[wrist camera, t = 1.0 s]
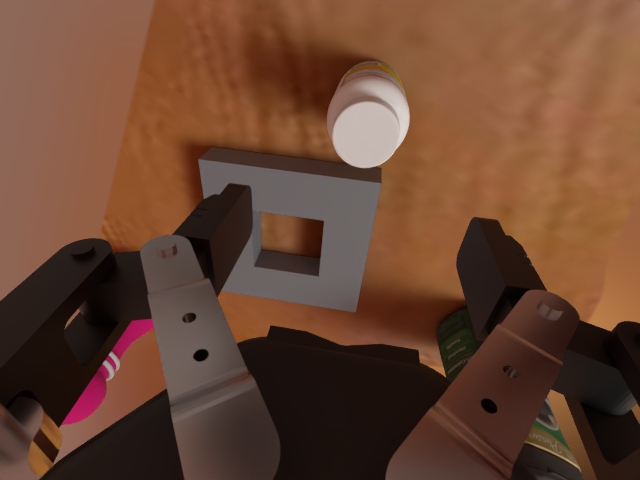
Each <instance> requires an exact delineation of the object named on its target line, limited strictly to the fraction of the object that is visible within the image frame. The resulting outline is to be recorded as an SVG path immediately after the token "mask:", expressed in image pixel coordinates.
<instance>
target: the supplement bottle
mask: <svg viewBox="0 0 640 480" xmlns="http://www.w3.org/2000/svg"><path fill="white" fill-rule="evenodd" d="M409 120H410V116H409V108H408V103H407V100H406V95H405V91H404V87H403V84H402V81H401V79H400V77H399V76H398V74H397V73H396V72H395V70H394V69H393V68H391V67H390V66H389V65H387V64H385V63H382V62H378V61H365V62H361V63H359V64H357V65H355V66H353V67H352V68H351V69H349V70H348V71H347V72H346V73H345V75H344V76H343V77H342V79H341V81H340V83H339V85H338V87H337V89H336V92H335V94H334V96H333V98H332V100H331V102H330V105H329V108H328V113H327V129H328V133H329V136H330V139H331V141H332V142H333V146H334V148H335V150H336V152H337V154H338V155H339V156H340V157H341V158H342V159H343V160H344V161H345V162H346V163H348V164H350V165H352V166H355V167H359V168H371V167H375V166H378V165H380V164H382V163H384V162H385V161H386V160H388V159H389V158H390V157H391V156H392V155H393V153H394V152H395V150H396V149H397V148H398V147H399V145H400V144H401V143H402V141H403V140H404V138H405V136H406V133H407V131H408V127H409Z"/></svg>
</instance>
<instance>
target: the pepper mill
mask: <svg viewBox="0 0 640 480" xmlns="http://www.w3.org/2000/svg"><path fill="white" fill-rule="evenodd" d="M153 328H154V325H153V320H152V319H145V320H135V321H132V322H131V323H130V324H129V326H128V327H127V329H126V330H125V332H124V333H123V335H122V336H121V338H120V339H119V341H118V342H117V344H116V345H115V346H114V348H113V349H112V351H111V352H110V354H109V355H108V357H107V358H106V360H105V361H104V363H103V364H102V366H101V367H100V368H99V370H98V371H97V373H96V374H95V376H94V377H93V379H92V380H91V382H90V383H89V385H88V386H87V387H86V389H85V390H84V392H83V393H82V395H81V396H80V398H79V399H78V401H77V402H76V404H75V405H74V407H73V408H72V409H71V411H70V412H69V414H68V415H67V417H66V418H65V420H64V421H63V423H62V424H61V425H64V424H72V423H76V422H79V421H81V420H83V419H85V418H87V417H88V416H89V415H91V414H92V413H93V412H94V411H95V410H96V409H97V408H98V407H99V405H100V404H101V403H102V401H103V399H104V398H105V395H106V389H107V388H106V381H108V380H110V379H111V378H112V377H113V376H114V373H115V371H117V370H118V369H119V367H120V362H119V360H120V358H121V356H122V355H123V353H124V352H125V351H126V349H127V348H128V347H129V346H130V345H131V344H132V343H133V342H134V341H135V340H136V339H138V338H139V337H141V336H142V335H144V334H145V333H147V332H149V331H150V330H152V329H153Z"/></svg>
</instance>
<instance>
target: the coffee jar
mask: <svg viewBox="0 0 640 480" xmlns="http://www.w3.org/2000/svg"><path fill="white" fill-rule="evenodd" d="M436 335H437V340H438V345H439V350H440V355H441V359H442V363H443V366H444V370H445V374H446V378H447V379H448V380H449V381H451V382H453V381H454V380H455V379H456V377H457V376H458V375H459V373H460V372H461V371H462V370H463V368H464V367H465V366H466V364H467V363H468V362H469V361H470V359H471V358H472V357H473V355H474V354H475V353H476V352H477V350H478V349H479V348H480V346H481V345H482V344H483V343H484V341H479V340H476V336H475V333H474V329H473V325H472V322H471V318H470V315H469V311H468V307H467V308H464V309H461V310H459V311H456V312H455V313H453V314H451V315H450V316H448V317H447V318H446V319H445V320H444V321H443V322H442V323H441V324H440V325H439V327H438V329H437V332H436ZM518 458H519V459H520V460H521V461H522V462H523V463H524V464H525V466H526V467H527V468H528V469H529V470H530V471H531V473H532V474H533V475H534V476H535V477H536V478H537V479H538V480H584V478H583V474H582V473H581V469H580V467H579V465H578V463H577V461H576V460H575V458H574V456H573V454H572V452H571V451H570V449H569V447H568V445H567V443H566V441H565V439H564V437H563V435H562V433H561V431H560V428H559V426H558V424H557V421H556V419H555V417H554V414H553V411H552V409H551V406H550V403H549V401H548V398H546V400H545V402H544V404H543V406H542V408H541V410H540V412H539V414H538V416H537V418H536V420H535V422H534V424H533V426H532V428H531V430H530V432H529V435H528V437H527V439H526V441H525V443H524V445H523V447H522V449H521V451H520V453H519V455H518Z"/></svg>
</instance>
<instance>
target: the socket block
mask: <svg viewBox="0 0 640 480" xmlns="http://www.w3.org/2000/svg"><path fill="white" fill-rule="evenodd" d="M198 162H199V168H200V175H201V182H202V189H203V196H204V199H205V198H207V197H209V196H211V195H213V194H218V195H220V193H221V192H222V191H223V190H224V188H225V187H226V186H227V185H228V184H229V183H234V184H242V185H249V186H250V187H251V191H252V210H253V229H252V233H251V236H250V238H249V240H248V242H247V244H246V246H245V248H244V250H243V251H242V253H241V255H240V257H239V259H238V261H237V262H236V264H235V266H234V268H233V270H232V272H231V273H230V275H229V277H228V279H227V281H226V283H225V285H224V286H223V288H222V290H221V291H224V292H230V293H237V294H243V295H249V296H255V297H261V298H268V299H274V300H280V301H286V302H293V303H299V304H305V305H311V306H318V307H324V308H330V309H336V310H343V311H349V312H355V313H356V309H357V304H358V299H359V294H360V289H361V284H362V279H363V274H364V269H365V264H366V259H367V254H368V248H369V243H370V238H371V233H372V228H373V223H374V218H375V213H376V208H377V203H378V198H379V193H380V188H381V168H373V167H371V168H359V167H355V166H352V165H349V164H342V163H334V162H326V161H318V160H310V159H303V158H295V157H287V156H279V155H272V154H264V153H256V152H248V151H240V150H233V149H225V148H217V147H211V148H210V149H209V150H208V151H207V152H206V153H204V154H203V155H202V156H201V157H200V158H199V159H198ZM260 212H266V213H273V214H280V215H287V216H294V217H301V218H309V219H316V220H323V221H324V227H323V238H322V248H321V258H314V257H308V256H301V255H294V254H287V253H281V252H274V251H267V250H262V244H261V216H260Z"/></svg>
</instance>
